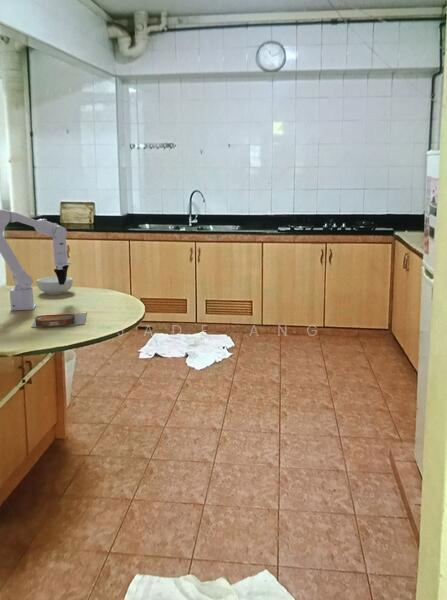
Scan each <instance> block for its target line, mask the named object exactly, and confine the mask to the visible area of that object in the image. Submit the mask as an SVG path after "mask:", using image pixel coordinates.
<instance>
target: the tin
mask: <svg viewBox="0 0 447 600" xmlns="http://www.w3.org/2000/svg"><path fill="white" fill-rule="evenodd" d="M54 314H55V315H45V314H41V315H42V316H38V315H37V316H38V317H37V316H36V317H35V318H34V321H35V322H36V325H37V326H55V327H64V326H63V325H70V324H73V323H74V322H75V316H74V315H72V314H64V313H54Z"/></svg>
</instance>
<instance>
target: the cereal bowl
mask: <svg viewBox="0 0 447 600" xmlns="http://www.w3.org/2000/svg"><path fill="white" fill-rule="evenodd" d="M36 286H37V289H39V291H41V292H43V293H46V294H47V295H51V296H52V295H53V296H54V295H56V296H57V295H63V294H64V293H65V292H67V291H69V290H70V289H71V288H72V286H73V278H72V277H70V276H66V281H65V283H64V285H59V282H58V278H57V276H48V277H42V278H38V279H36ZM62 293H63V294H62Z"/></svg>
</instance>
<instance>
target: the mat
mask: <svg viewBox="0 0 447 600" xmlns="http://www.w3.org/2000/svg"><path fill="white" fill-rule="evenodd" d="M75 313H76V314H72V315H74V316H75V322H74V323H73V324H70V325H63V326H62V327H70V326H71V327H73V326H85V323H86V319H87V314H88V312H87V313H82V312H75ZM42 315H43V314H37V315H36V317H38V316H42ZM54 327H56V326H37V325H36V322H35V320H33V322H32V325H31V327H30V328H32V329H34V328H35V329H36V328H38V329H39V328H54Z"/></svg>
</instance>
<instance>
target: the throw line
mask: <svg viewBox="0 0 447 600" xmlns="http://www.w3.org/2000/svg"><path fill="white" fill-rule="evenodd" d="M76 313H77V312H65V313H63V314H76ZM81 313H87V314H88V312H85V311H83V312H81ZM55 314H56V313H47V314H44V315H55Z"/></svg>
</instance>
